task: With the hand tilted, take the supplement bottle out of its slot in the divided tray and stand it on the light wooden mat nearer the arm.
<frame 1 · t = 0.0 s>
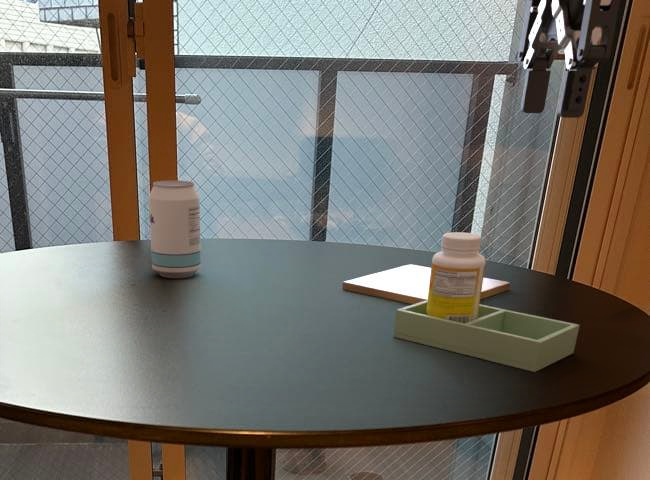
hand: (549, 115, 77), 22 cm above the table, tool pointing down, fingers open, 8 cm apart
divided tray: (481, 344, 87), on the table
mat: (425, 289, 108), on the table
supplement bottle: (448, 334, 89), resting on divided tray
beverage can: (176, 275, 115), on the table
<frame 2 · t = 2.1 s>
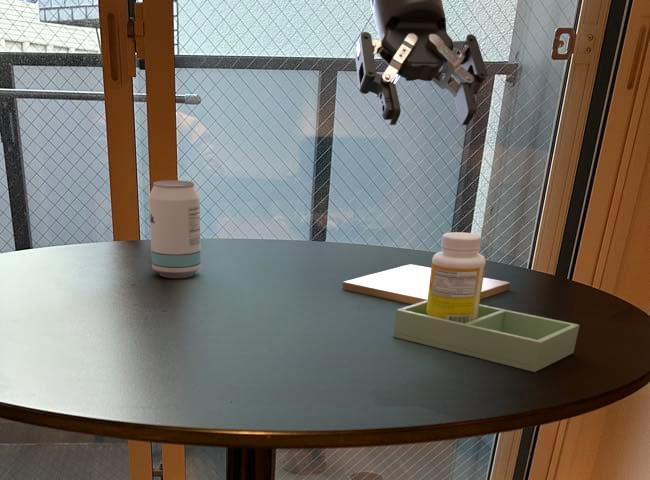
hand: (431, 119, 88), 21 cm above the table, tool tilted 45°, fingers open, 8 cm apart
nothing on the table moved.
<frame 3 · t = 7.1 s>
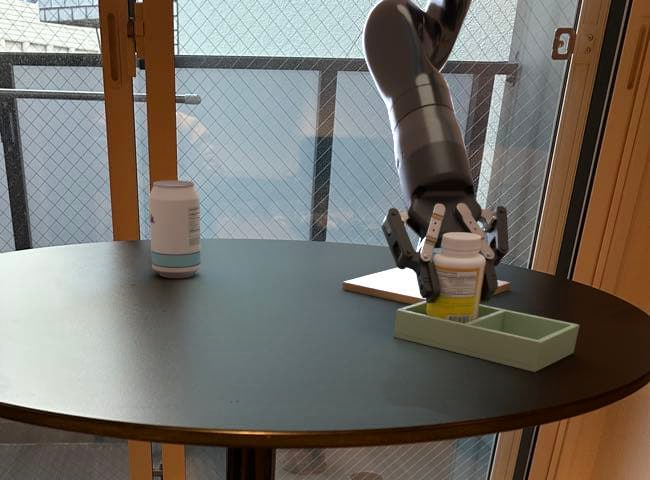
hand: (461, 297, 85), 5 cm above the table, tool tilted 45°, fingers closed on supplement bottle, 5 cm apart
supplement bottle: (448, 334, 89), resting on divided tray, touching gripper
everything else where it was.
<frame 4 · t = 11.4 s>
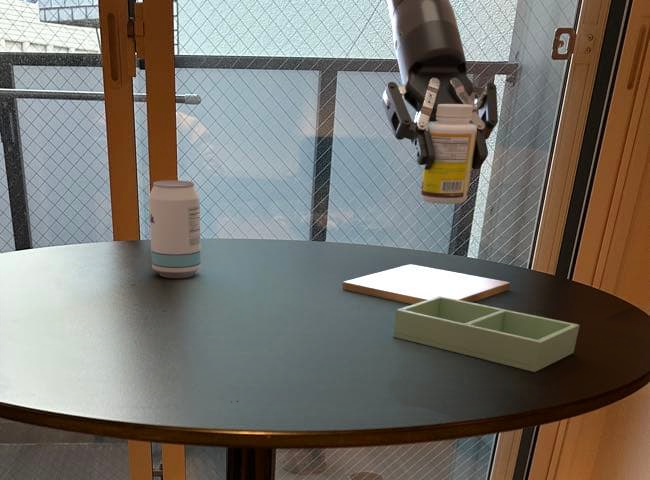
hand: (454, 164, 93), 16 cm above the table, tool tilted 45°, fingers closed on supplement bottle, 5 cm apart
supplement bottle: (442, 203, 97), point 12 cm above the table, touching gripper
everything else where it was.
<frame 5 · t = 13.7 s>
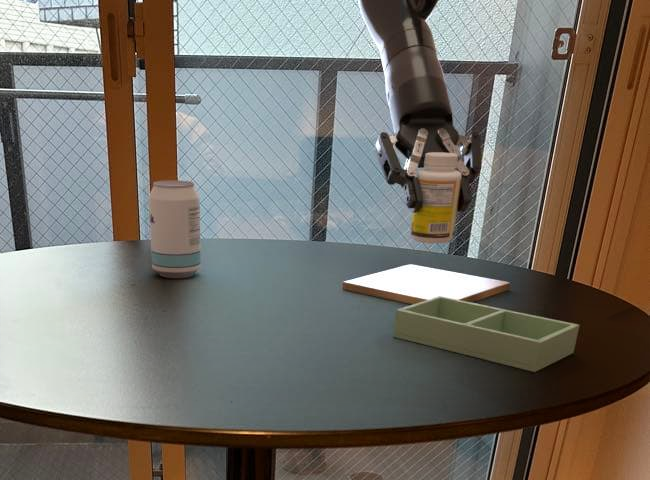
hand: (441, 207, 101), 11 cm above the table, tool tilted 45°, fingers closed on supplement bottle, 5 cm apart
supplement bottle: (431, 241, 105), point 6 cm above the table, touching gripper
everything else where it was.
when the fingers open (5 cm above the table, at t = 15.7 s): supplement bottle stays where it is, resting on mat.
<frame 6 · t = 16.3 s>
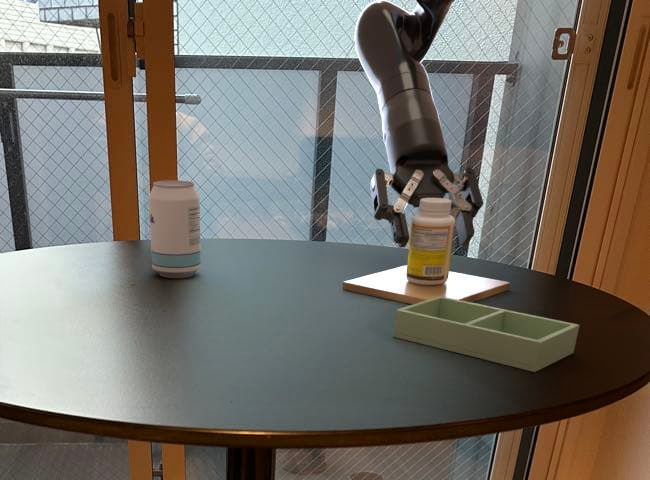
hand: (435, 243, 104), 6 cm above the table, tool tilted 45°, fingers open, 8 cm apart
supplement bottle: (426, 283, 108), point 1 cm above the table, touching mat
everything else where it was.
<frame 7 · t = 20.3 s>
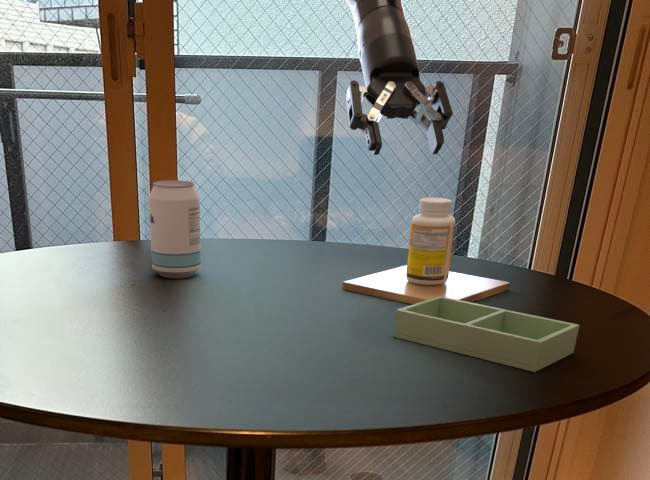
hand: (407, 150, 110), 16 cm above the table, tool tilted 45°, fingers open, 8 cm apart
nothing on the table moved.
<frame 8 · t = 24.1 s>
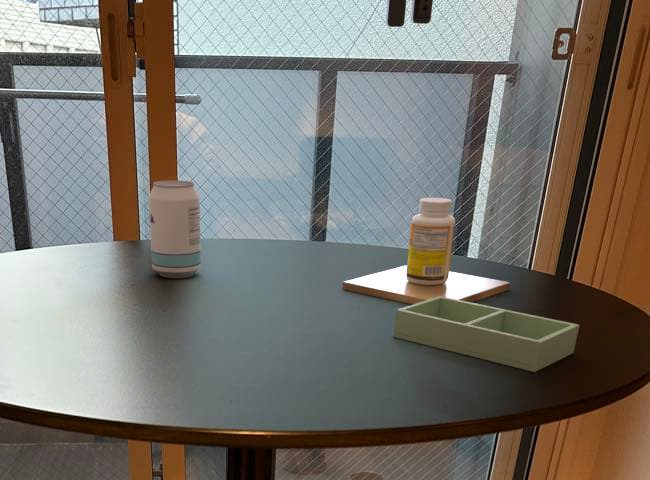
hand: (406, 25, 97), 30 cm above the table, tool pointing down, fingers open, 8 cm apart
nothing on the table moved.
at the end: supplement bottle inside the target area on the mat (0.1 cm from its centre), point 0.8 cm above the mat's base; supplement bottle tilted 0°; the gripper is holding nothing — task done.
